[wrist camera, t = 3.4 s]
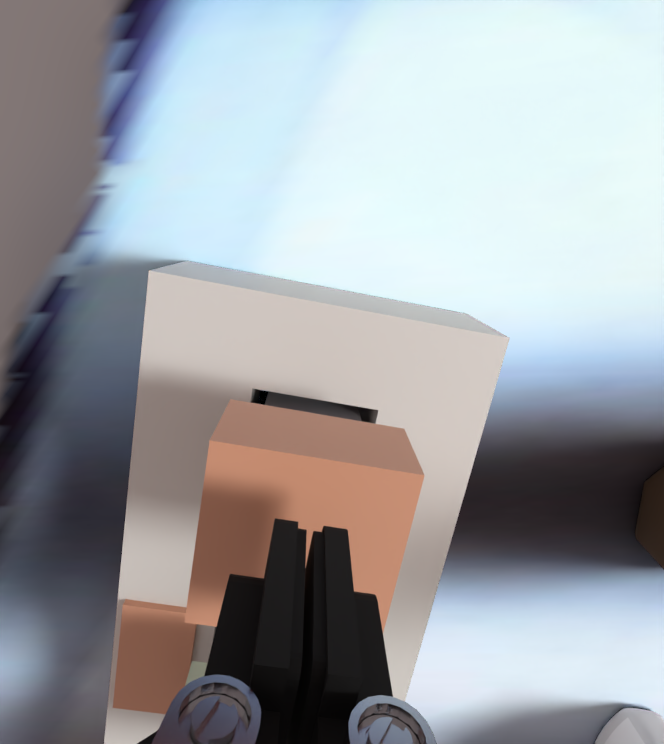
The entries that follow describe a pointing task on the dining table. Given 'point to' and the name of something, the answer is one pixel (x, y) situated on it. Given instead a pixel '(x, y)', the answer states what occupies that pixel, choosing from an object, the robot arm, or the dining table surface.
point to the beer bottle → (652, 517)
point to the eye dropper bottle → (633, 728)
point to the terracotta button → (302, 494)
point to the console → (243, 383)
